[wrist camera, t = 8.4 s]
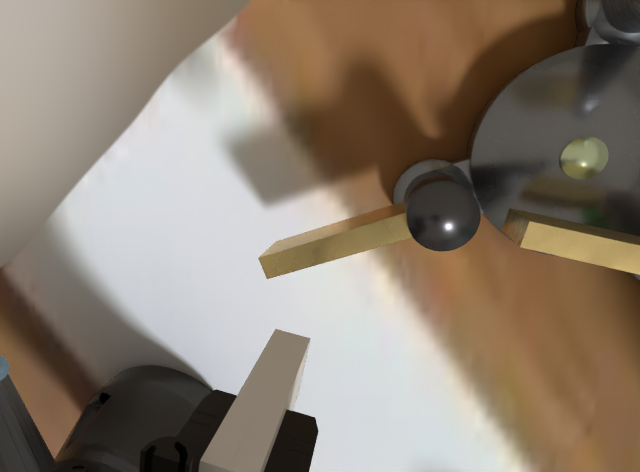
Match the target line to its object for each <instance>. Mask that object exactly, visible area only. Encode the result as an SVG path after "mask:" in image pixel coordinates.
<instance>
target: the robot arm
mask: <svg viewBox="0 0 640 472" xmlns="http://www.w3.org/2000/svg"><path fill="white" fill-rule="evenodd" d="M309 343H310V338H307V337H303V336H299V335H296V334H292V333H288V332H285V331H281V330H277V329H275V331H274V333H273V334H272V336H271V338H270V340H269V341H268V343H267V345H266V347H265V348H264V350H263V352H262V354H261V355H260V357H259V359H258V361H257V362H256V364H255V366H254V368H253V369H252V371H251V373H250V375H249V376H248V378H247V380H246V381H245V383H244V385H243V387H242V388H241V390H240V392H239V394H238V395H237V396H236V395H233V394H230V393H226V392H223V391H220V390H215V391H213V392H211V391H210V390H209V389H208V388H207V387H205V386H204V385H203V384H201V383H200V382H198V381H197V380H195V379H193V378H191V377H189V376H187V375H185V374H183V373H180V372H178V371H175V370H172V369H168V368H163V367H156V366H142V367H136V368H132V369H128V370H126V371H123V372H121V373H120V374H118V375H116V376H115V377H114V378H113V379H111V380H110V381H109V382H108V383H107V384H106V385H105V386H104V387H102V388H101V389H100V390H99V391H98V392H97V393H96V394H95V395H94V396H93V397H92V398H91V400H90V401H89V402H88V404H87V406H86V407H85V409H84V411H83V412H82V414H81V416H80V417H79V419H78V421H77V422H76V424H75V426H74V428H73V429H72V431H71V433H70V434H69V436H68V438H67V439H66V441H65V443H64V444H63V446H62V448H61V449H60V451H59V453H58V454H57V456H56V458H55V459H54V458H53V457H52V455H51V453H50V451H49V449H48V447H47V445H46V443H45V442H44V440H43V438H42V436H41V434H40V432H39V430H38V429H37V427H36V425H35V423H34V421H33V419H32V417H31V415H30V414H29V412H28V410H27V408H26V406H25V404H24V402H23V400H22V399H21V397H20V395H19V393H18V391H17V389H16V387H15V385H14V384H13V382H12V380H11V378H10V376H9V374H8V372H9V364H8V361H7V359H6V358H5V357H3V356H1V355H0V472H309V469H310V465H311V460H312V456H313V452H314V447H315V443H316V439H317V435H318V428H317V424H316V420H315V417H311V416H308V415H304V414H301V413H298V412H294V411H293V409H294V406H295V403H296V400H297V397H298V394H299V390H300V386H301V381H302V376H303V372H304V367H305V362H306V357H307V353H308V348H309Z"/></svg>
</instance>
